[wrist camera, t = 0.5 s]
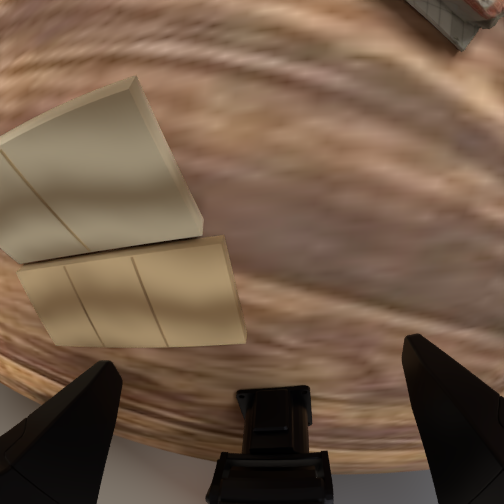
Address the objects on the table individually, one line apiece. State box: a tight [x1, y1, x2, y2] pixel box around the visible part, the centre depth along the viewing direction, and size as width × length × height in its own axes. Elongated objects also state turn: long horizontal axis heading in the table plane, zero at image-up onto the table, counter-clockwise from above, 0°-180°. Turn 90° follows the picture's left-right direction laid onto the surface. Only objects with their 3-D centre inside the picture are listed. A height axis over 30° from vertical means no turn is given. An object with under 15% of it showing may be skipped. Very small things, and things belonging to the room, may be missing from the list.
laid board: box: [16, 235, 247, 348], centre depth 23 cm, size 8×18×1 cm, turn 100°
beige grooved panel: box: [0, 76, 203, 264], centre depth 16 cm, size 10×16×1 cm, turn 100°
